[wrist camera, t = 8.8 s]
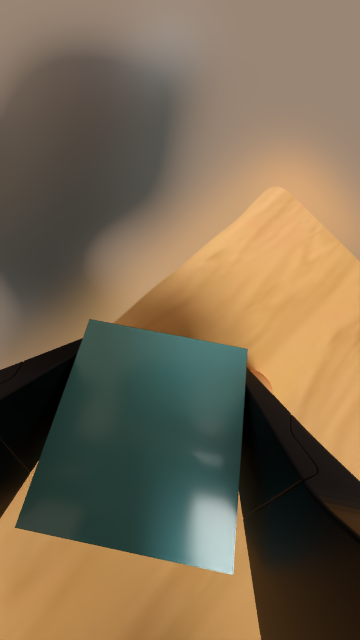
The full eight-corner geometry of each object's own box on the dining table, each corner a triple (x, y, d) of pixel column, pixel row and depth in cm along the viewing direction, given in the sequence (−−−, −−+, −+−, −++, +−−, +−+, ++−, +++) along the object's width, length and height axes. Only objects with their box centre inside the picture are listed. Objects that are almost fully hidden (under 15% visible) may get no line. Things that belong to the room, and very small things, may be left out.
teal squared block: (194, 432, 14) (233, 575, 4) (121, 417, 14) (14, 527, 5) (204, 357, 15) (247, 349, 6) (140, 344, 16) (89, 319, 6)
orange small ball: (266, 385, 16) (289, 391, 13) (246, 411, 16) (265, 424, 12) (241, 362, 17) (257, 362, 13) (221, 386, 16) (232, 392, 13)
